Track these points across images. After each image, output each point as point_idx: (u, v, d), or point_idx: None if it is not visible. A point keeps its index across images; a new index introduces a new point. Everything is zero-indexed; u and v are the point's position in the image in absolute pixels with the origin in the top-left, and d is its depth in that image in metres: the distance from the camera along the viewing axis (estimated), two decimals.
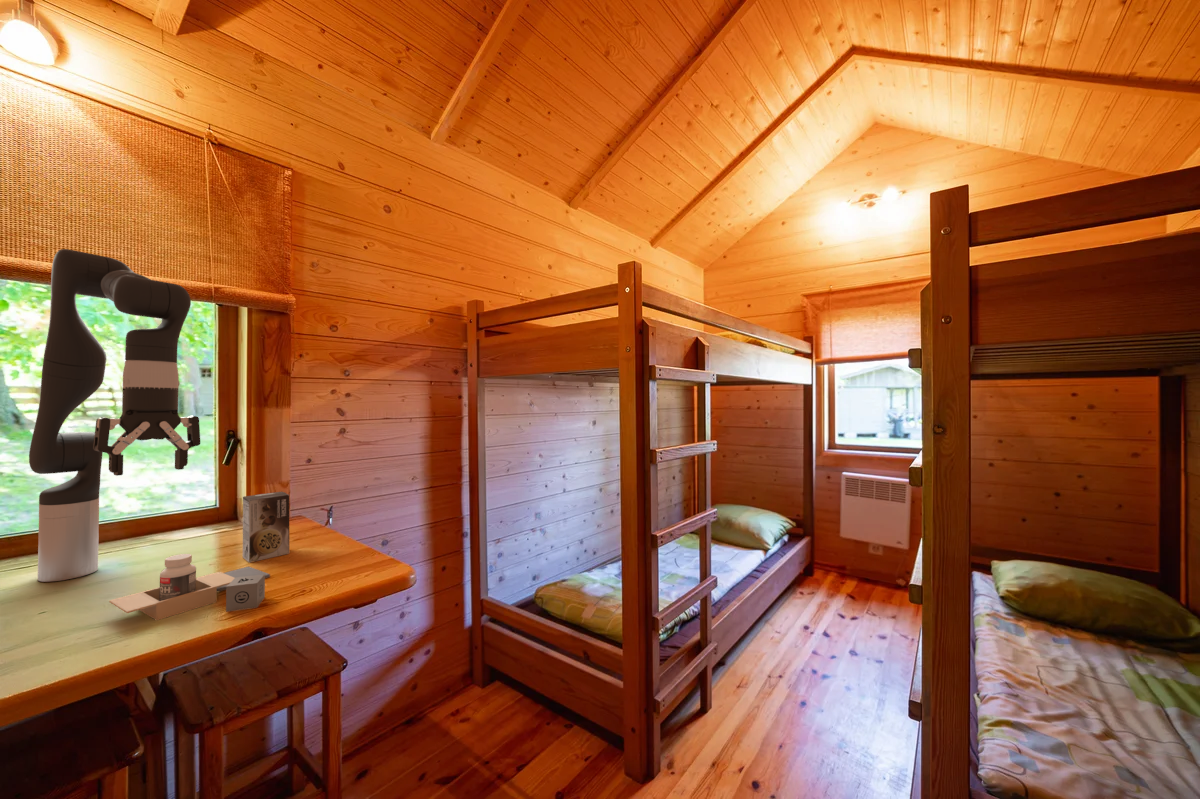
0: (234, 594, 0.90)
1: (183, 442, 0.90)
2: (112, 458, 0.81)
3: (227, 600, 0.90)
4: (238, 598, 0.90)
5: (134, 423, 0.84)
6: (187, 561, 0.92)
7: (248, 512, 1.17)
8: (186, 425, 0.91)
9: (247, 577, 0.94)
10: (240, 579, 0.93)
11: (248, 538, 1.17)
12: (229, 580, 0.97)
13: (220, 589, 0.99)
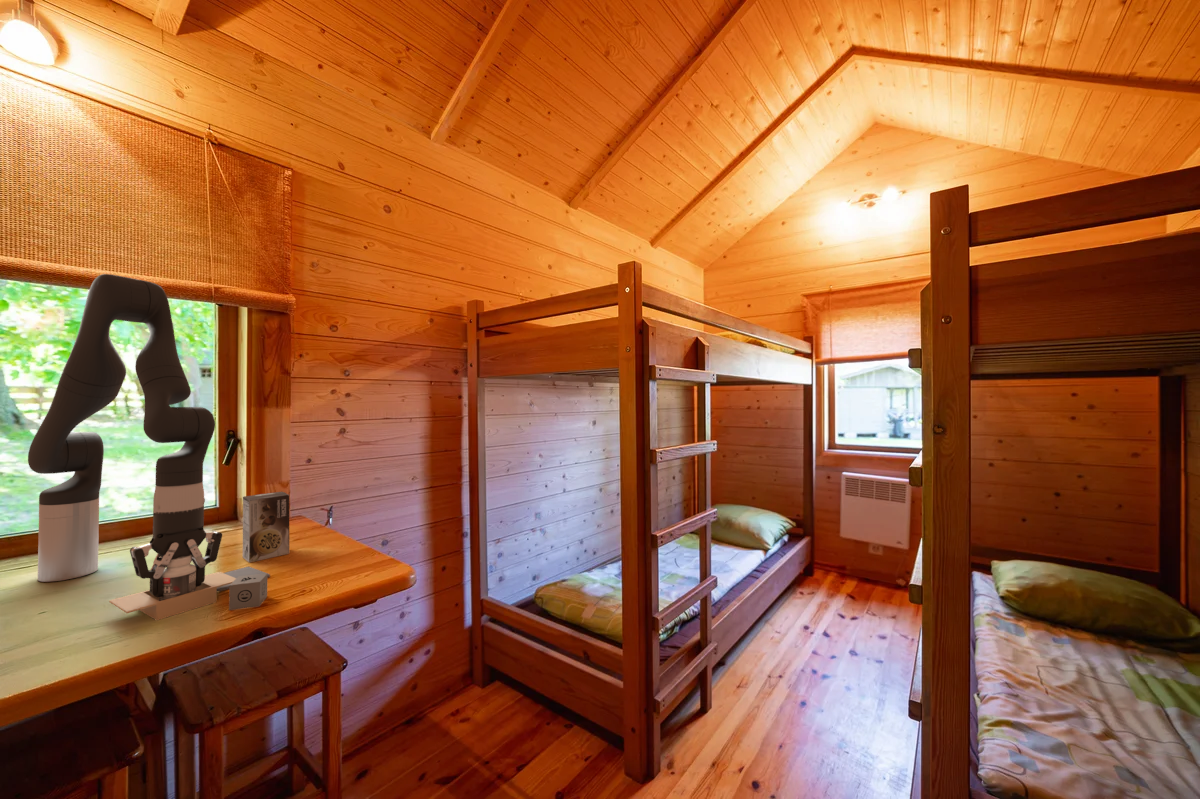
0: (237, 593, 0.91)
1: (202, 560, 0.94)
2: (153, 582, 0.88)
3: (230, 599, 0.90)
4: (241, 597, 0.91)
5: (164, 546, 0.89)
6: (187, 561, 0.92)
7: (248, 512, 1.17)
8: (209, 541, 0.96)
9: (250, 576, 0.95)
10: (243, 578, 0.94)
11: (248, 538, 1.17)
12: (229, 580, 0.97)
13: (220, 589, 0.99)
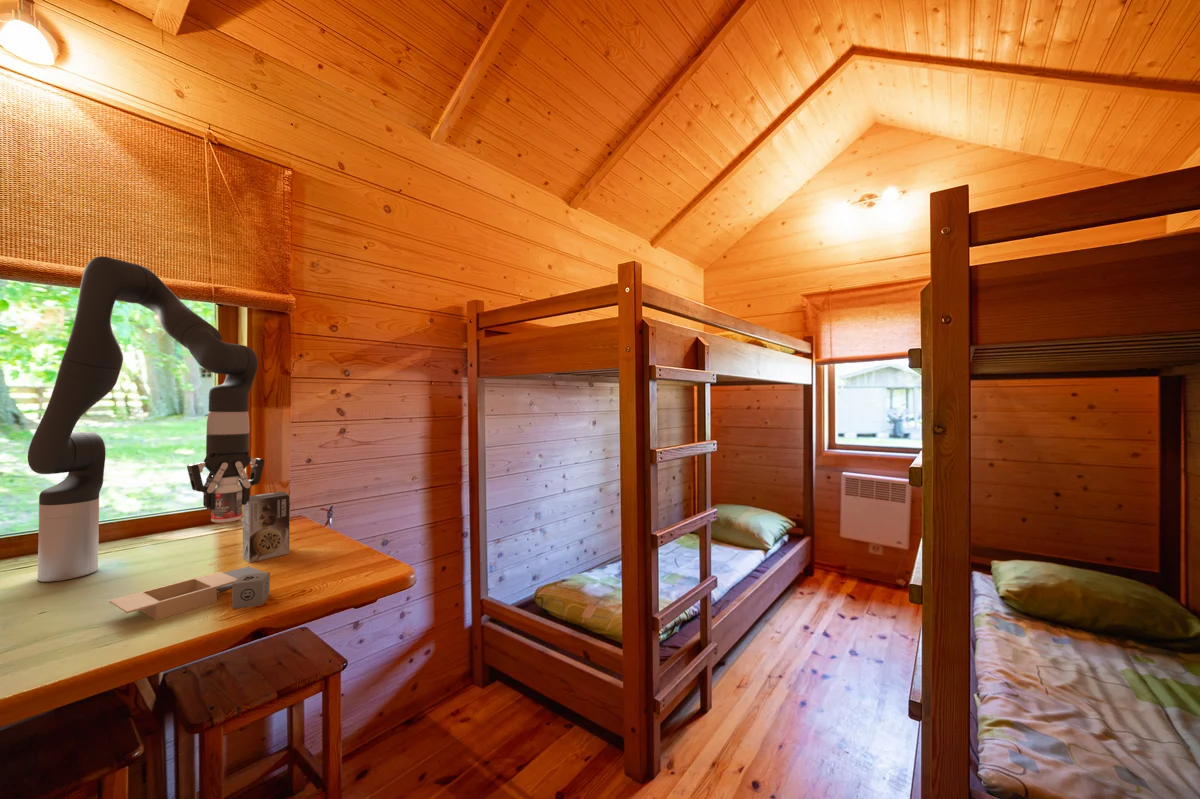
0: (240, 591, 0.91)
1: (247, 481, 1.06)
2: (206, 496, 1.00)
3: (233, 597, 0.91)
4: (244, 595, 0.91)
5: (215, 465, 1.01)
6: (235, 480, 1.03)
7: (248, 512, 1.17)
8: (253, 465, 1.07)
9: (252, 575, 0.95)
10: (246, 577, 0.94)
11: (248, 538, 1.17)
12: (229, 580, 0.97)
13: (220, 589, 0.99)
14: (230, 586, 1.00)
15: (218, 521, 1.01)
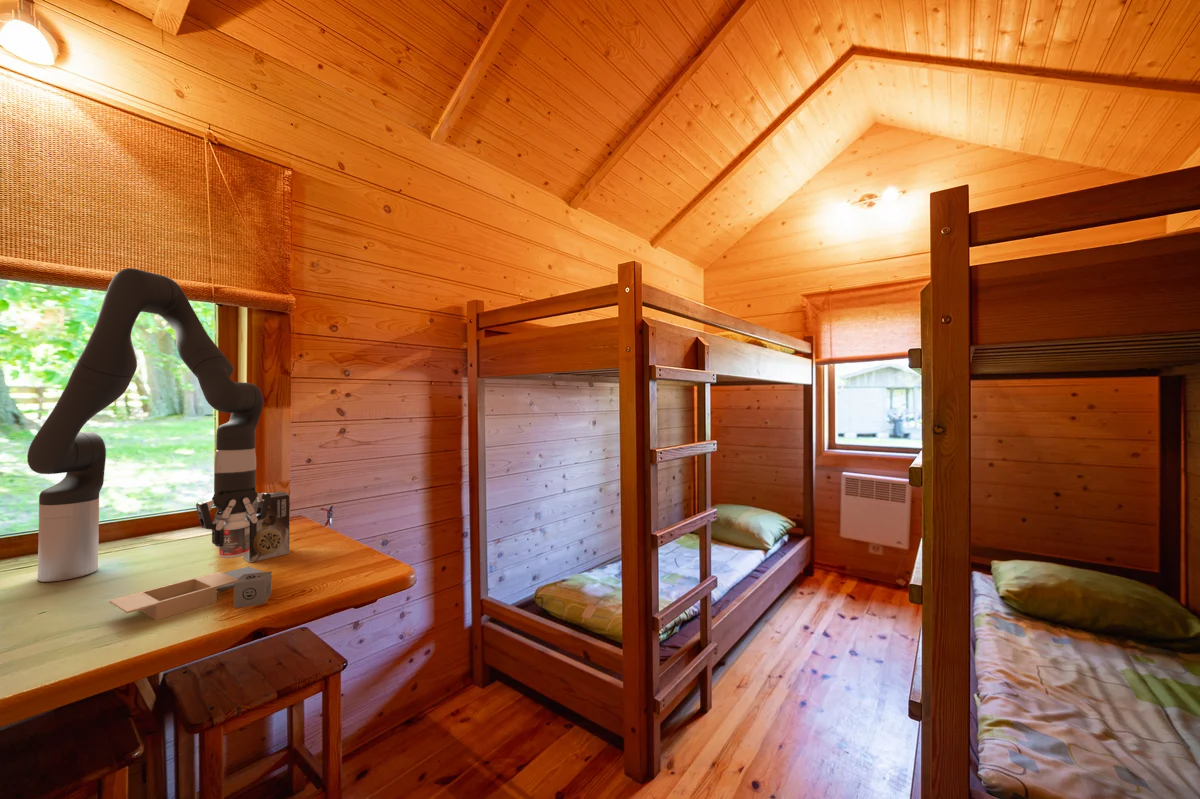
0: (242, 591, 0.92)
1: (254, 516, 1.08)
2: (215, 533, 1.02)
3: (235, 596, 0.91)
4: (246, 594, 0.92)
5: (224, 503, 1.03)
6: (243, 516, 1.05)
7: None
8: (259, 500, 1.09)
9: (254, 574, 0.96)
10: (247, 576, 0.95)
11: None
12: (229, 580, 0.97)
13: (220, 589, 0.99)
14: (230, 586, 1.00)
15: (227, 557, 1.03)
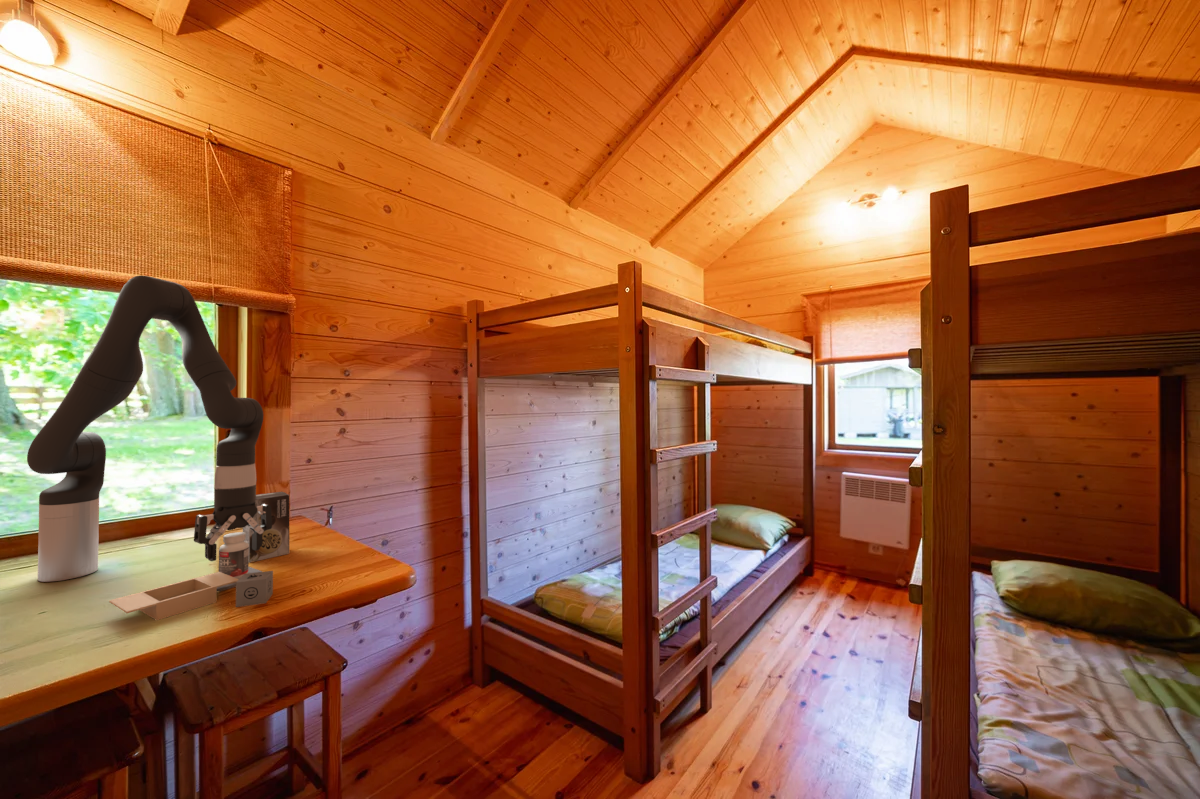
0: (243, 590, 0.92)
1: (259, 527, 1.09)
2: (208, 547, 1.01)
3: (237, 596, 0.92)
4: (247, 594, 0.92)
5: (224, 517, 1.03)
6: (242, 538, 1.05)
7: None
8: (261, 513, 1.10)
9: (256, 573, 0.96)
10: (249, 575, 0.95)
11: (248, 538, 1.17)
12: (229, 580, 0.97)
13: (220, 589, 0.99)
14: (230, 586, 1.00)
15: None
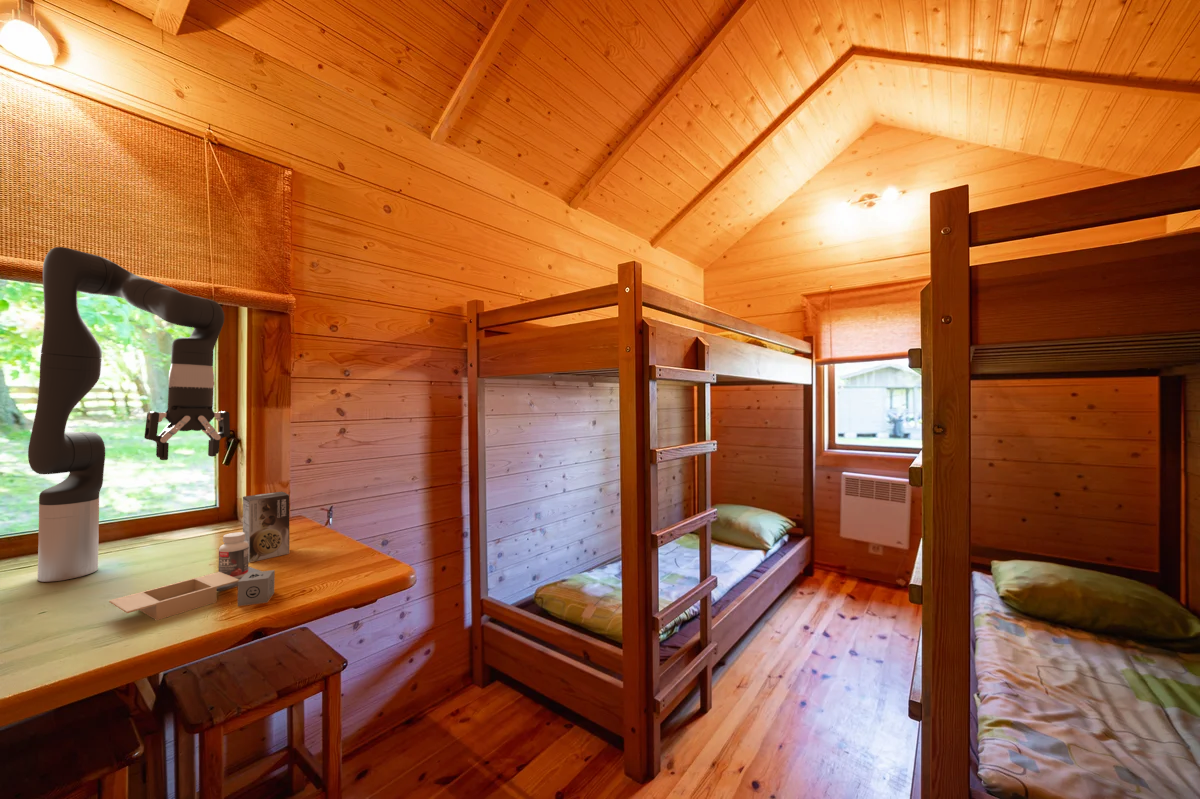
0: (245, 589, 0.92)
1: (216, 433, 1.06)
2: (159, 445, 0.98)
3: (239, 595, 0.92)
4: (249, 593, 0.93)
5: (178, 417, 1.00)
6: (242, 538, 1.05)
7: (248, 512, 1.17)
8: (218, 419, 1.07)
9: (257, 573, 0.97)
10: (251, 574, 0.96)
11: (248, 538, 1.17)
12: (229, 580, 0.97)
13: (220, 589, 0.99)
14: (230, 586, 1.00)
15: None
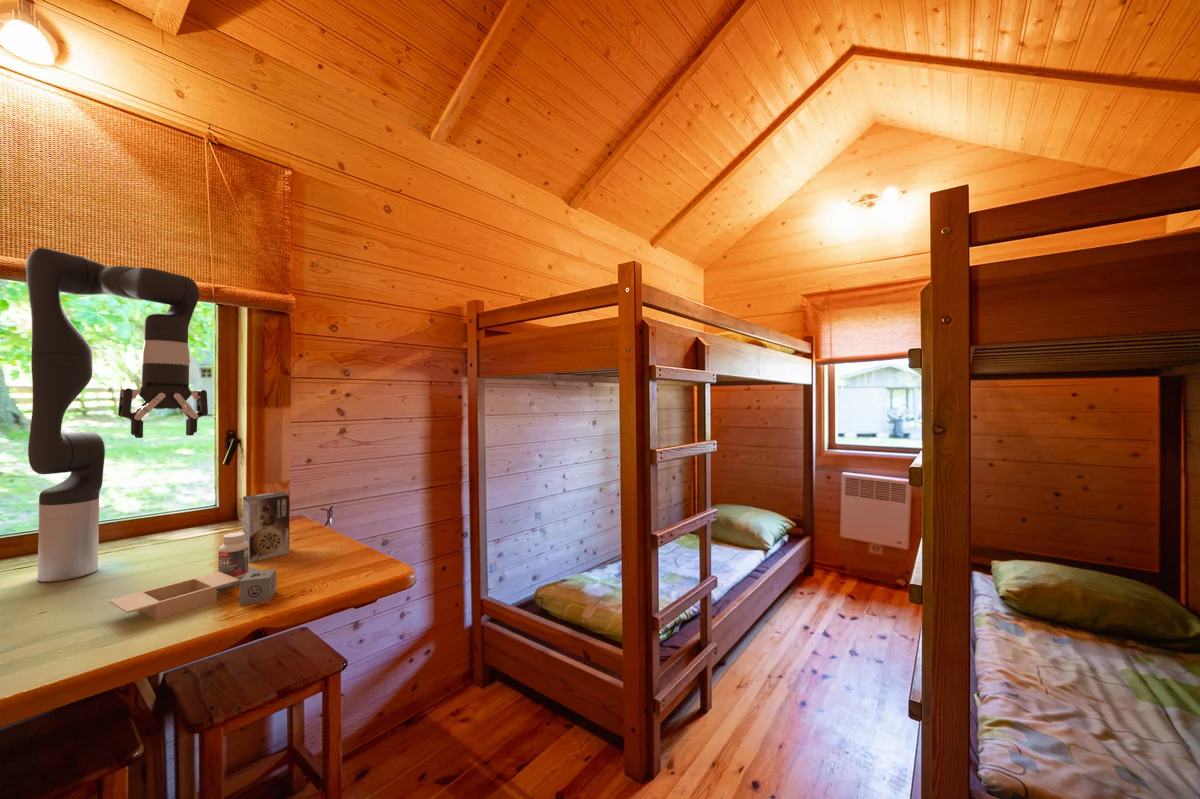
0: (247, 588, 0.93)
1: (193, 412, 1.04)
2: (134, 423, 0.96)
3: (240, 594, 0.92)
4: (251, 592, 0.93)
5: (152, 394, 0.98)
6: (242, 538, 1.05)
7: (248, 512, 1.17)
8: (196, 397, 1.05)
9: (259, 572, 0.97)
10: (252, 574, 0.96)
11: (248, 538, 1.17)
12: (229, 580, 0.97)
13: (220, 589, 0.99)
14: (230, 586, 1.00)
15: None
